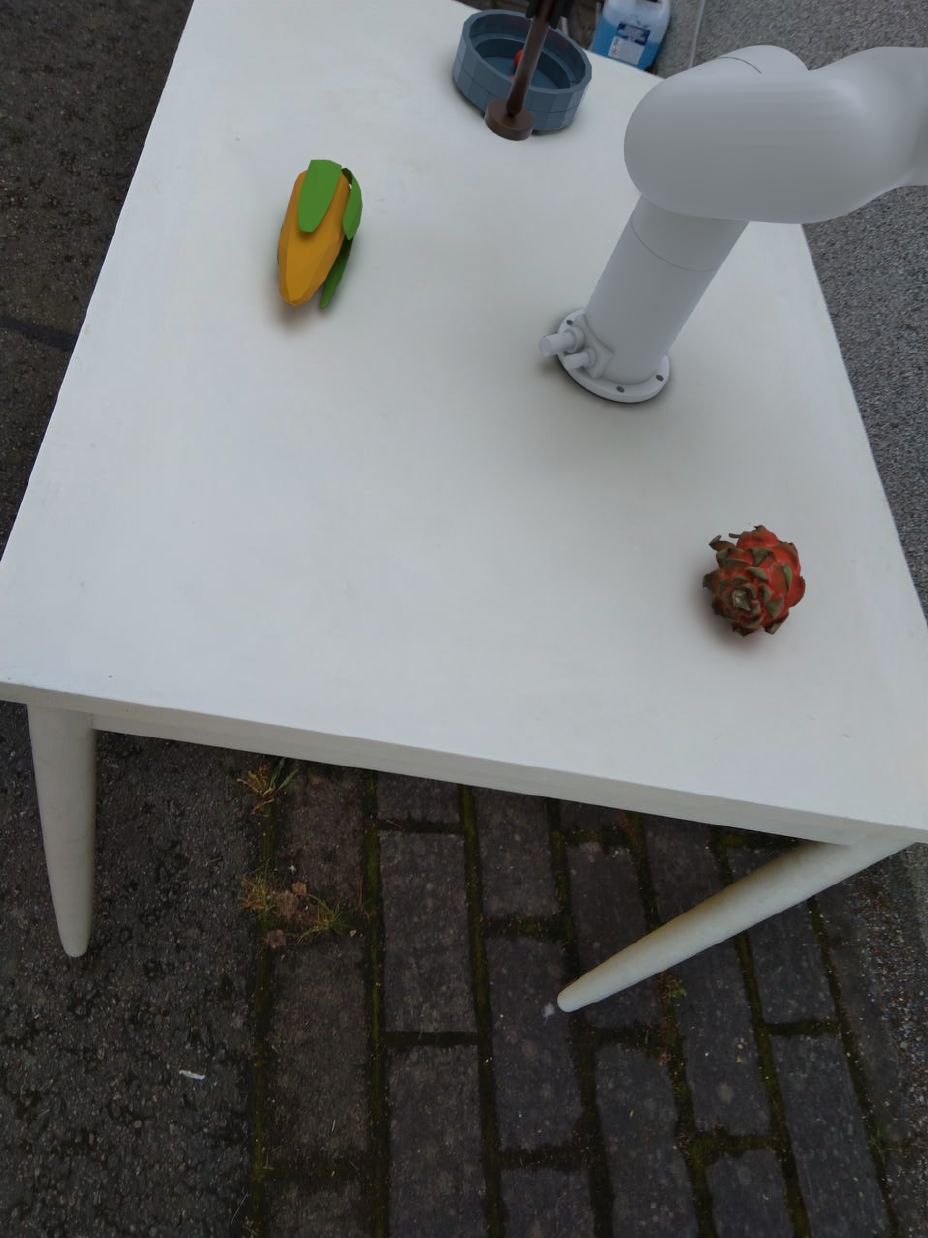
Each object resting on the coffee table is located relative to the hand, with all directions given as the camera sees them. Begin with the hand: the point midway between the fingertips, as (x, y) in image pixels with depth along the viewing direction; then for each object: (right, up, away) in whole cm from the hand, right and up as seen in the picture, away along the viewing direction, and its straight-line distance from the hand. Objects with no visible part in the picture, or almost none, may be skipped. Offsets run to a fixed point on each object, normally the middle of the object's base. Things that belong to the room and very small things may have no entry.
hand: (543, 15), depth 80 cm
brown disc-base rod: (-3, -5, +9) cm, 10 cm away
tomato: (+1, +18, +36) cm, 40 cm away
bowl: (-1, +14, +36) cm, 38 cm away
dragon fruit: (+18, -52, +4) cm, 55 cm away
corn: (-22, -18, +10) cm, 31 cm away
